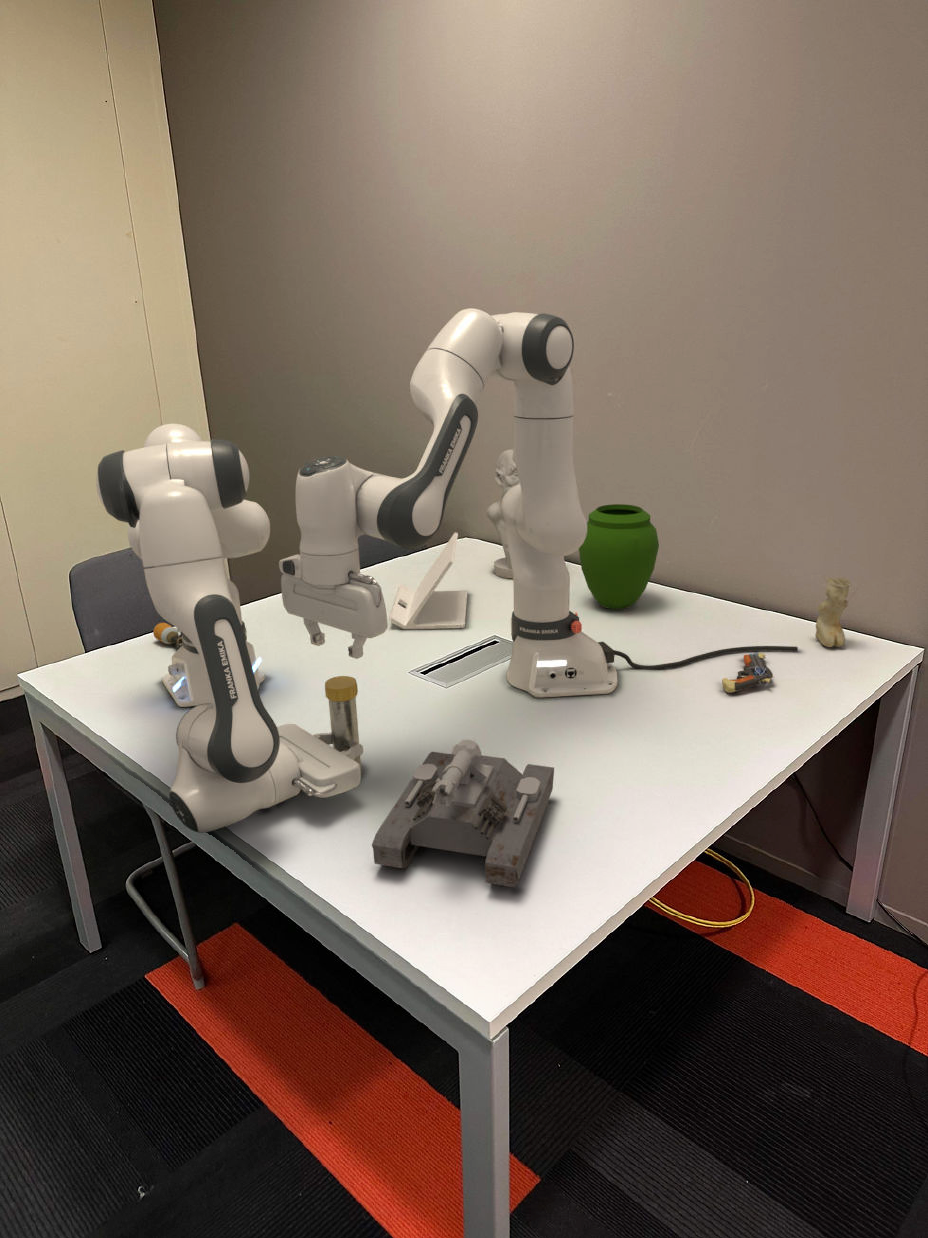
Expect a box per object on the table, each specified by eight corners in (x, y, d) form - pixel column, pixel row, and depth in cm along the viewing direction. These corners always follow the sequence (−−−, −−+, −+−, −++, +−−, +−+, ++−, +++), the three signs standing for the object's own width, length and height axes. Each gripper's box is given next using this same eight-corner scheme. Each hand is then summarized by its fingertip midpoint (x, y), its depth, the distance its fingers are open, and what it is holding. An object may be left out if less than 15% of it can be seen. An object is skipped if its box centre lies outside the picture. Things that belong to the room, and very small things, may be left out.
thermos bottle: (366, 772, 142) (359, 685, 136) (343, 781, 139) (335, 693, 134) (353, 762, 145) (346, 676, 140) (330, 770, 143) (322, 684, 137)
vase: (599, 587, 227) (601, 497, 218) (668, 600, 216) (673, 505, 208) (562, 608, 212) (564, 513, 204) (634, 623, 202) (639, 523, 193)
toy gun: (724, 683, 164) (779, 680, 162) (715, 651, 182) (764, 648, 180) (725, 696, 165) (779, 693, 163) (715, 663, 183) (764, 660, 180)
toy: (433, 778, 139) (429, 695, 134) (554, 794, 134) (555, 708, 128) (373, 873, 117) (366, 778, 111) (516, 898, 111) (515, 799, 106)
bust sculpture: (503, 593, 225) (502, 460, 212) (483, 567, 247) (480, 445, 234) (562, 587, 228) (563, 456, 215) (536, 562, 250) (536, 441, 237)
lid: (363, 695, 137) (362, 683, 136) (335, 704, 134) (333, 692, 133) (348, 685, 141) (347, 673, 140) (320, 693, 138) (318, 681, 137)
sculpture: (821, 649, 184) (830, 583, 179) (808, 637, 191) (816, 573, 185) (848, 649, 184) (858, 582, 179) (834, 636, 191) (843, 572, 185)
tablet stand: (467, 593, 225) (465, 531, 219) (465, 628, 202) (462, 559, 196) (399, 594, 226) (395, 532, 220) (388, 629, 203) (384, 560, 197)
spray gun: (191, 623, 212) (240, 633, 206) (141, 643, 198) (191, 654, 192) (190, 607, 211) (239, 616, 205) (139, 626, 196) (190, 637, 190)
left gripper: (312, 780, 124) (387, 746, 133) (242, 732, 138) (314, 705, 147) (316, 817, 126) (390, 781, 135) (247, 766, 141) (318, 737, 149)
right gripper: (394, 573, 126) (398, 659, 131) (302, 551, 138) (309, 630, 143) (364, 584, 121) (369, 673, 126) (271, 560, 133) (279, 642, 138)
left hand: (350, 741), depth 141 cm, fingers closed on thermos bottle, 4 cm apart
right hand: (336, 650), depth 135 cm, fingers open, 7 cm apart
